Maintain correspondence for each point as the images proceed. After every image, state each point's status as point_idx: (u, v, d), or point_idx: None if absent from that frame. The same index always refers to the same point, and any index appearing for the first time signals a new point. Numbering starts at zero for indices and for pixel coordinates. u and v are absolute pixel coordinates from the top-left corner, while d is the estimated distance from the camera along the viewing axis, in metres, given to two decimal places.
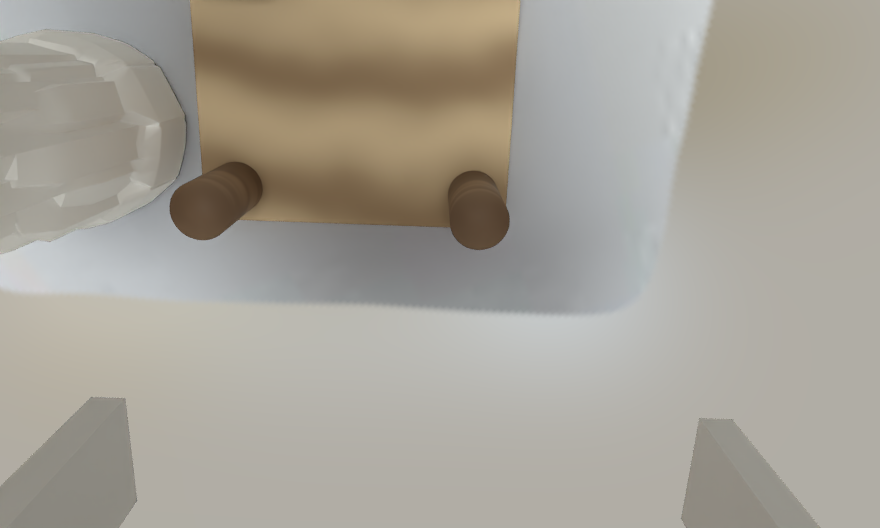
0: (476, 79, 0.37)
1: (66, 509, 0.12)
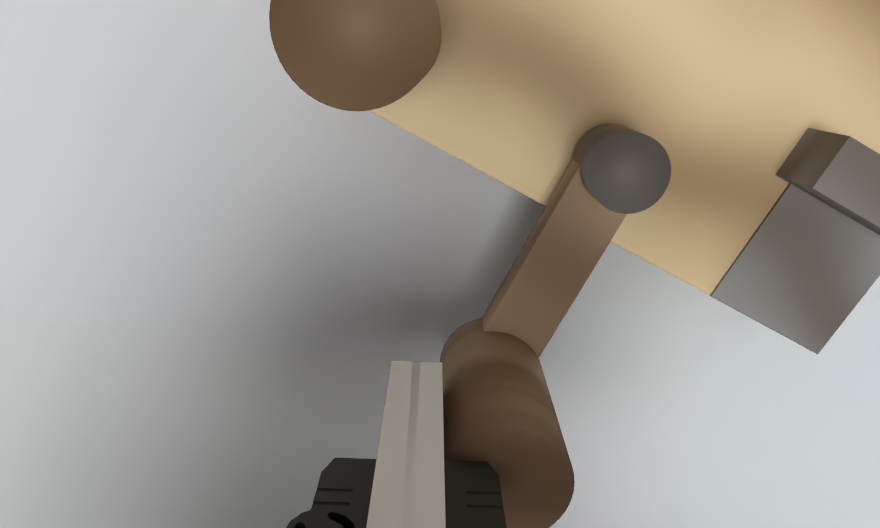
0: None
1: None
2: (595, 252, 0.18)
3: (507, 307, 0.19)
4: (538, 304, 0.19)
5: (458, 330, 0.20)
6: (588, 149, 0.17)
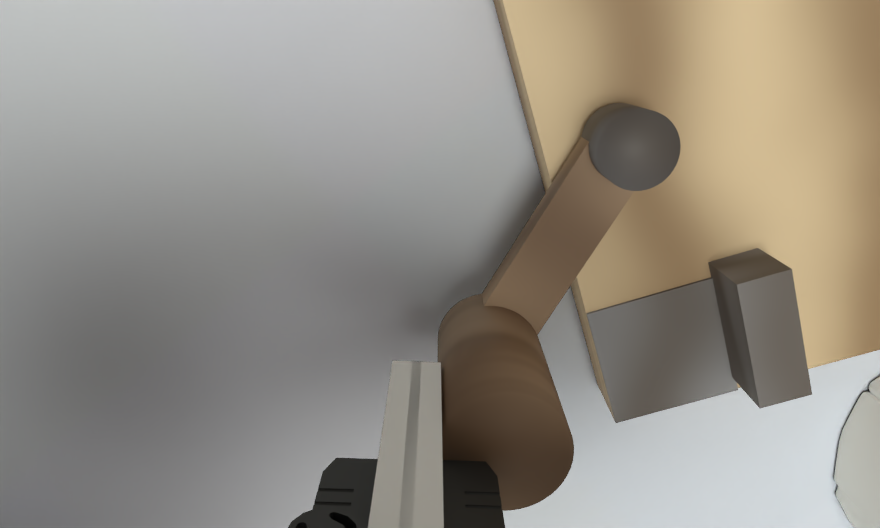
0: None
1: None
2: (599, 230, 0.18)
3: (508, 282, 0.19)
4: (540, 280, 0.18)
5: (457, 304, 0.20)
6: (598, 125, 0.17)
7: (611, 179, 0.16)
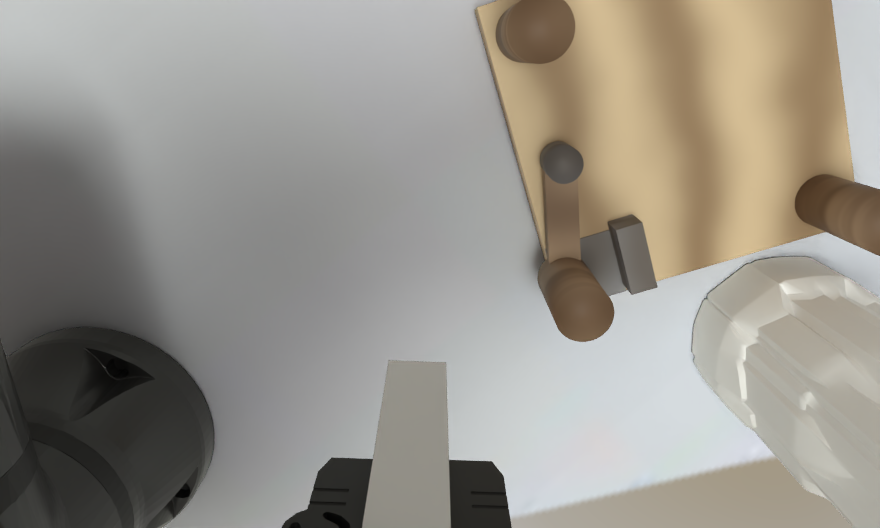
0: None
1: None
2: (575, 201, 0.37)
3: (552, 247, 0.37)
4: (565, 238, 0.37)
5: (539, 270, 0.39)
6: (543, 163, 0.36)
7: (561, 182, 0.35)
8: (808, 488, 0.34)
